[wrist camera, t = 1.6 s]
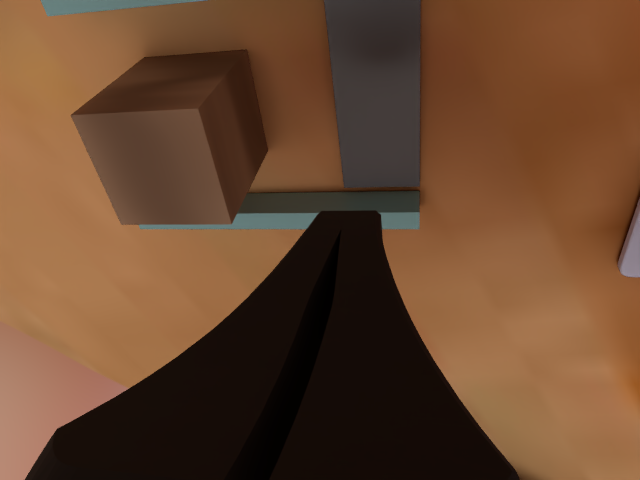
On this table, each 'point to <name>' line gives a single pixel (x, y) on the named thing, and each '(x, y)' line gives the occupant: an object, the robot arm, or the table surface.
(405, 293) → the table surface
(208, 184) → the walnut block
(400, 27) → the channel
